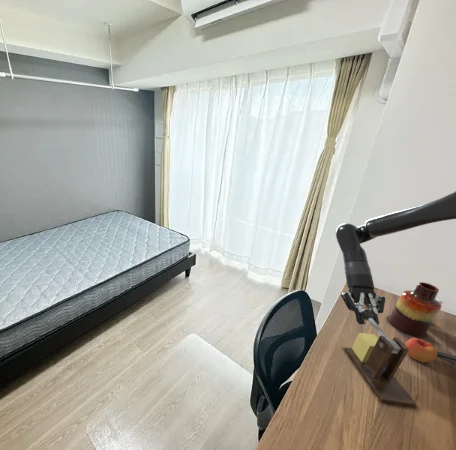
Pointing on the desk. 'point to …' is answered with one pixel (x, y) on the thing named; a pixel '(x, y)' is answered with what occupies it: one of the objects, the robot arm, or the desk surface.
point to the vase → (416, 310)
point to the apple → (421, 350)
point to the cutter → (384, 371)
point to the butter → (364, 346)
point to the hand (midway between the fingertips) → (368, 324)
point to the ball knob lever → (379, 329)
